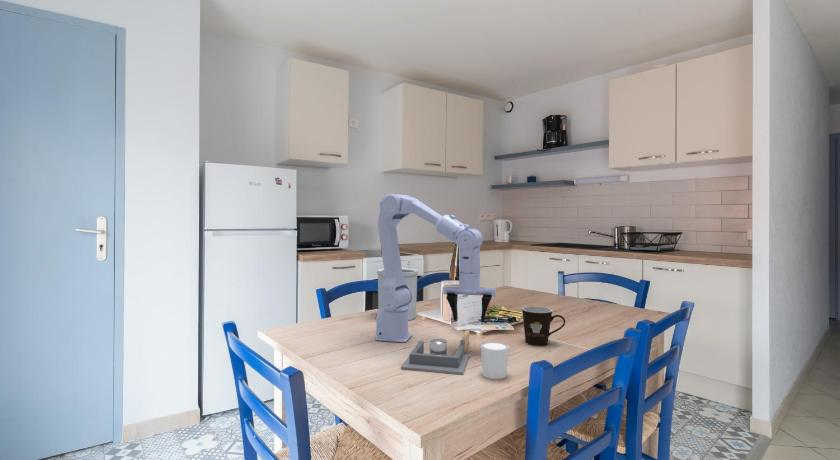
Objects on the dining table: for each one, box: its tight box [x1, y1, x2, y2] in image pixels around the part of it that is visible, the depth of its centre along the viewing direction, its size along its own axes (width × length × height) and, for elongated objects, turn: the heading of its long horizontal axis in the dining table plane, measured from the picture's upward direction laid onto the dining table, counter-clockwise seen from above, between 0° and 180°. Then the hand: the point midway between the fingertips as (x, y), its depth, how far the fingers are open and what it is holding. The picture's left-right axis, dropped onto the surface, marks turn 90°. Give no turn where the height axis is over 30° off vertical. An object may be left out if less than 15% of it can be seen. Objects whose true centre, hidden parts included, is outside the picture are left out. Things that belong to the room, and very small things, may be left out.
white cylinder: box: [480, 341, 510, 380], centre depth 104 cm, size 7×7×7 cm
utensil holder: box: [376, 267, 419, 321], centre depth 160 cm, size 15×15×18 cm
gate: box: [459, 329, 470, 354], centre depth 124 cm, size 12×1×4 cm, turn 167°
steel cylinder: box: [429, 338, 448, 356], centre depth 115 cm, size 4×4×5 cm
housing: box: [400, 340, 471, 375], centre depth 113 cm, size 15×14×3 cm
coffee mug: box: [521, 305, 566, 347], centre depth 129 cm, size 12×9×10 cm
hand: (469, 320), depth 122 cm, fingers open, 7 cm apart
